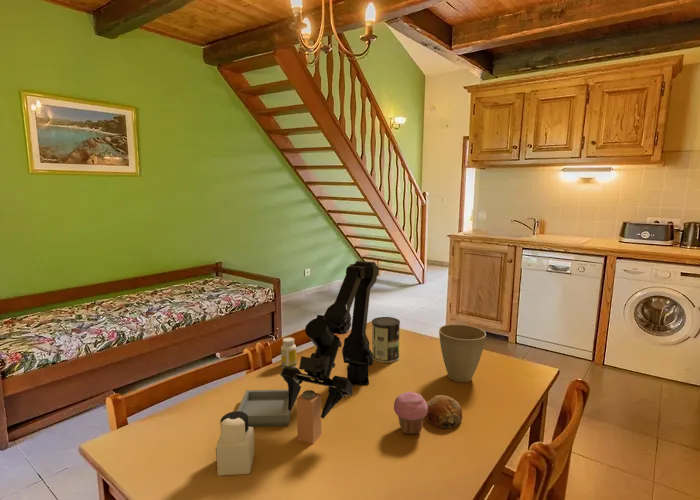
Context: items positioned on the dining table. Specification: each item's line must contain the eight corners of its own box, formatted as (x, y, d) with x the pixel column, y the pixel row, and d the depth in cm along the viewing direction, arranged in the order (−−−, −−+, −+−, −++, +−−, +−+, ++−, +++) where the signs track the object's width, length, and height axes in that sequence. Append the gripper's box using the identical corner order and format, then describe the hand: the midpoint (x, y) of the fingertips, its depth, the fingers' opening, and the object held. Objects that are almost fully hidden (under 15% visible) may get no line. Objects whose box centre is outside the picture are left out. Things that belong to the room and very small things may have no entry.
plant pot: (483, 391, 126) (485, 342, 124) (434, 384, 131) (436, 336, 129) (484, 370, 140) (486, 326, 138) (440, 365, 145) (441, 321, 143)
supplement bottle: (298, 362, 147) (297, 336, 146) (294, 369, 142) (294, 342, 140) (283, 362, 148) (282, 336, 146) (279, 368, 142) (278, 342, 141)
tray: (293, 398, 122) (293, 389, 122) (288, 425, 108) (287, 415, 108) (246, 399, 122) (246, 390, 121) (235, 426, 108) (234, 416, 107)
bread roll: (462, 428, 113) (464, 397, 116) (460, 432, 104) (462, 399, 106) (426, 421, 117) (428, 392, 119) (421, 424, 107) (424, 393, 109)
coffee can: (397, 351, 157) (398, 316, 155) (400, 363, 147) (401, 325, 144) (371, 351, 157) (371, 316, 155) (372, 363, 147) (372, 325, 145)
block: (306, 430, 106) (305, 387, 105) (321, 433, 105) (320, 390, 103) (297, 439, 102) (296, 395, 101) (313, 443, 101) (312, 399, 99)
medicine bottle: (224, 455, 96) (221, 408, 95) (254, 453, 97) (252, 406, 95) (216, 476, 89) (214, 426, 87) (250, 474, 90) (247, 424, 88)
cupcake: (432, 438, 103) (433, 401, 101) (398, 442, 101) (399, 404, 100) (420, 418, 111) (421, 384, 110) (389, 421, 110) (389, 387, 108)
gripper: (283, 336, 107) (259, 395, 98) (348, 347, 99) (329, 412, 91) (299, 354, 115) (278, 410, 107) (360, 365, 108) (343, 426, 99)
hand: (305, 414), depth 101 cm, fingers open, 9 cm apart
